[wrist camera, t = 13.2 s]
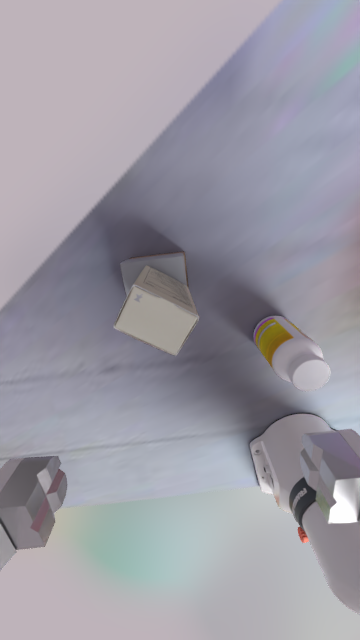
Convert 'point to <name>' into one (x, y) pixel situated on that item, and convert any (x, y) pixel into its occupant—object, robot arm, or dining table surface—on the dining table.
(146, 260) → the tower top
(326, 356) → the dining table surface
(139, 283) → the skincare box
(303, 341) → the supplement bottle
